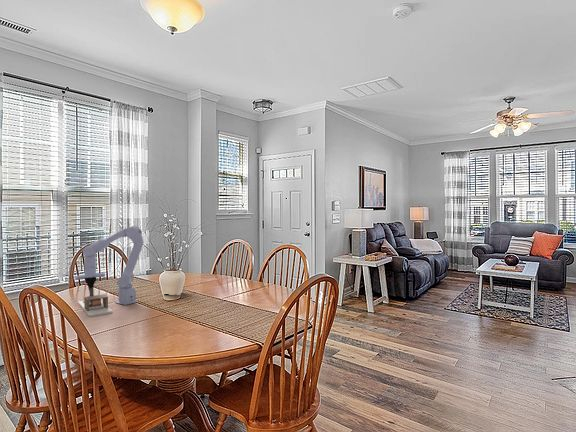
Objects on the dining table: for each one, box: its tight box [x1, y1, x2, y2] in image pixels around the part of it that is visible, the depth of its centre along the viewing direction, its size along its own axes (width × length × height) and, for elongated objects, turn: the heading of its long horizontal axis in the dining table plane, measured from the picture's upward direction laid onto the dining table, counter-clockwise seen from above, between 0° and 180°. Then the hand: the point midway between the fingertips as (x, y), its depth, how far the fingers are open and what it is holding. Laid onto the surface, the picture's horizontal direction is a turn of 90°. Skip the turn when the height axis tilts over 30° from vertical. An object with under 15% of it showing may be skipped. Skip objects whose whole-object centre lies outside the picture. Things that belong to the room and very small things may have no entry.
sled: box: [88, 287, 104, 310], centre depth 197 cm, size 16×6×8 cm, turn 39°
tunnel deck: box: [77, 293, 113, 318], centre depth 197 cm, size 32×11×7 cm, turn 39°
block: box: [91, 299, 102, 307], centre depth 193 cm, size 4×4×4 cm
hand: (90, 290), depth 204 cm, fingers closed
